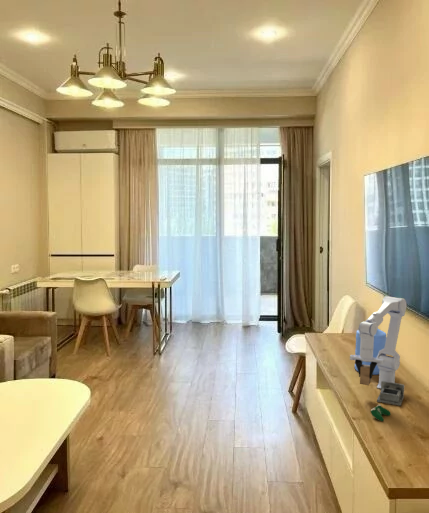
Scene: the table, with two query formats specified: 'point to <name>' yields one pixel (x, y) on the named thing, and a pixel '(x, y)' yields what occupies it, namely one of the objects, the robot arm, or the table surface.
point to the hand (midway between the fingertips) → (365, 377)
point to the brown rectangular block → (365, 374)
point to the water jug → (378, 345)
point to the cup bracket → (391, 393)
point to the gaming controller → (380, 412)
